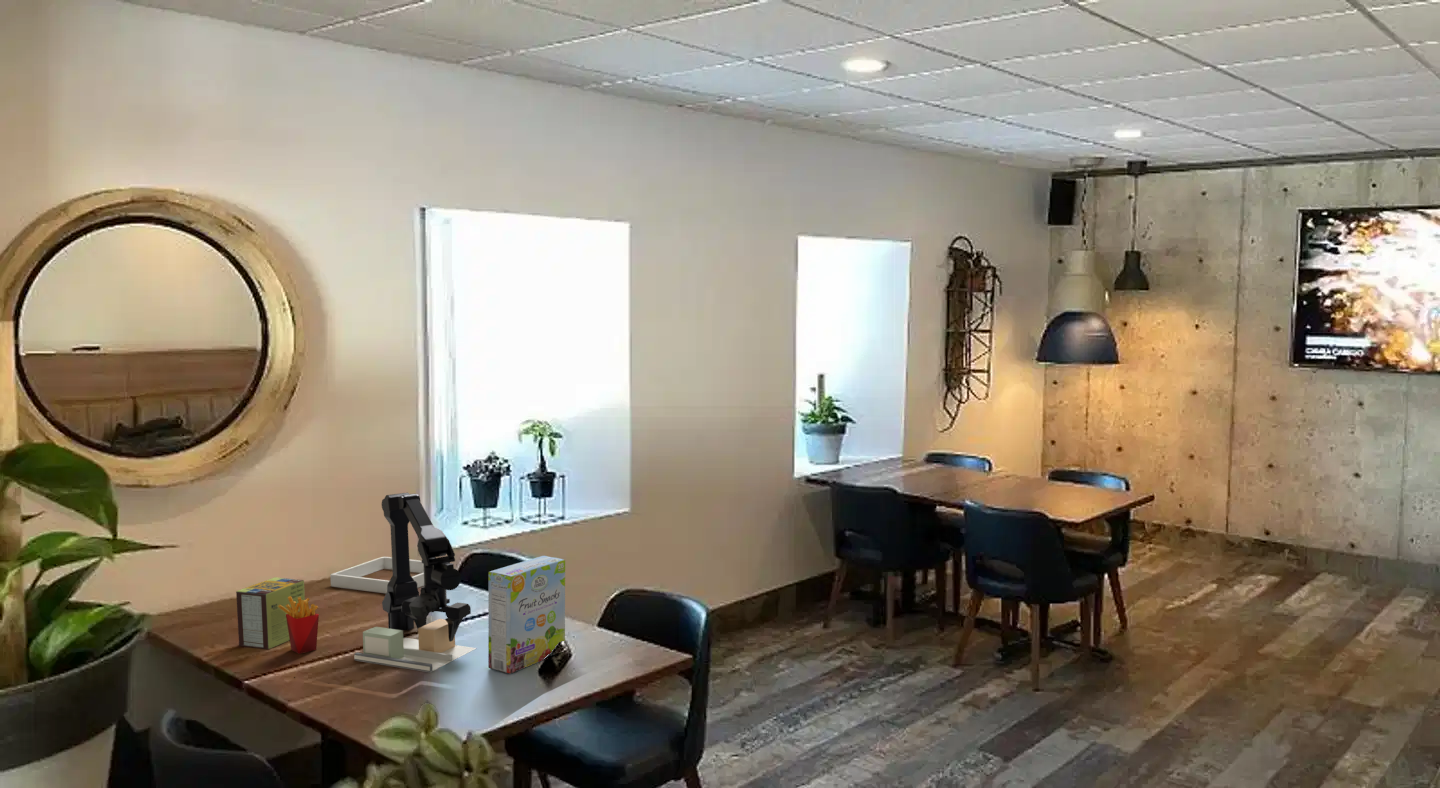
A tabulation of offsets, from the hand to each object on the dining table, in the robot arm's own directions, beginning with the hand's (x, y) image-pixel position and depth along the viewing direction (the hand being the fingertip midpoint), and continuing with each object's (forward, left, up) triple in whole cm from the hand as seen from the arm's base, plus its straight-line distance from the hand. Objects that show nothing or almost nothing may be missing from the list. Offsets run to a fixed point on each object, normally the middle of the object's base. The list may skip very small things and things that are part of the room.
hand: (436, 639), depth 294 cm
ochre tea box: (0, 0, -3) cm, 3 cm away
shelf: (-3, -5, -4) cm, 7 cm away
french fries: (-35, -13, -4) cm, 37 cm away
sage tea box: (-9, -10, -3) cm, 14 cm away
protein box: (-50, -8, -4) cm, 51 cm away
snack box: (+26, +4, -4) cm, 27 cm away
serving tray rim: (-60, +54, -4) cm, 81 cm away
